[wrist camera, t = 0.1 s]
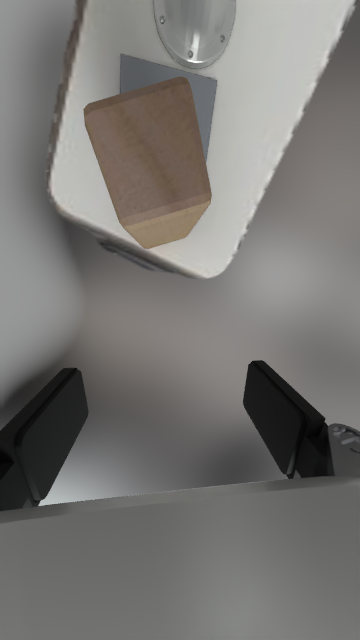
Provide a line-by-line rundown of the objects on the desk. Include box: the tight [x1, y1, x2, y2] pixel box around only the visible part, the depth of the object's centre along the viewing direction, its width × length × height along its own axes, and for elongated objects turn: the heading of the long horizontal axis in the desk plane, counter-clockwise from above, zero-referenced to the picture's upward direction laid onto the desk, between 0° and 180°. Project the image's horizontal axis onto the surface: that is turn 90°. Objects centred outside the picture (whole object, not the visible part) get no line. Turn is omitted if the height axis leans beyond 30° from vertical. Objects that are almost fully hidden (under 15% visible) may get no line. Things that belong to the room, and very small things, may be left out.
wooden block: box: [84, 76, 212, 249], centre depth 25 cm, size 10×10×20 cm
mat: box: [120, 54, 217, 162], centre depth 30 cm, size 14×16×1 cm
